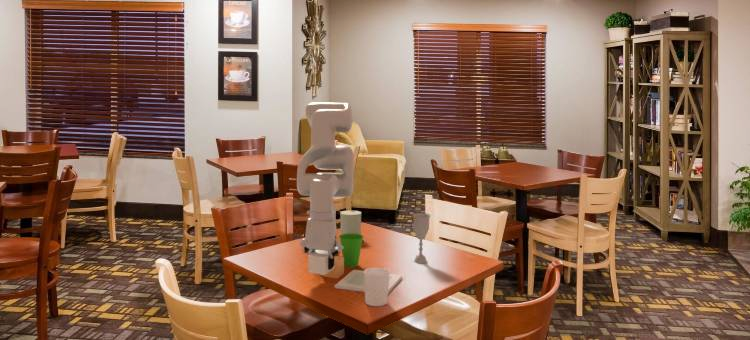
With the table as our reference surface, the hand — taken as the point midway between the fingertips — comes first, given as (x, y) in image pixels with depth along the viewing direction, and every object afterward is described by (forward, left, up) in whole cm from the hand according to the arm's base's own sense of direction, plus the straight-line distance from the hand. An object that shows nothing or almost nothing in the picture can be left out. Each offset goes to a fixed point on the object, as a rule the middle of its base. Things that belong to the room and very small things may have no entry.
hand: (321, 266), depth 206 cm
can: (-12, +59, -6) cm, 61 cm away
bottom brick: (0, 0, -1) cm, 1 cm away
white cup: (+23, -12, -6) cm, 27 cm away
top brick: (0, +9, -6) cm, 11 cm away
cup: (+2, +22, -6) cm, 23 cm away
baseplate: (+15, +5, -5) cm, 17 cm away
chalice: (+25, +36, -6) cm, 45 cm away
